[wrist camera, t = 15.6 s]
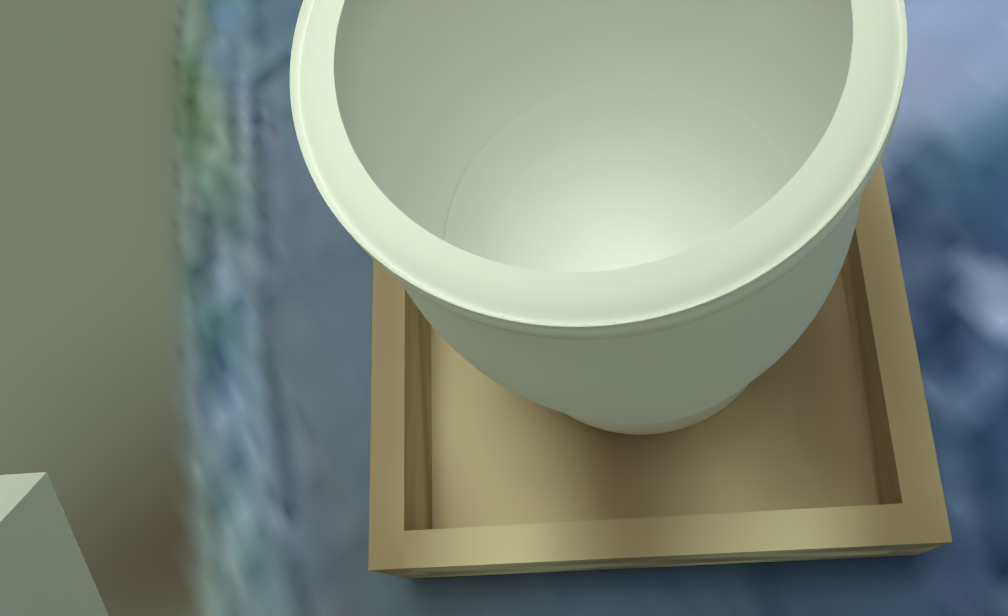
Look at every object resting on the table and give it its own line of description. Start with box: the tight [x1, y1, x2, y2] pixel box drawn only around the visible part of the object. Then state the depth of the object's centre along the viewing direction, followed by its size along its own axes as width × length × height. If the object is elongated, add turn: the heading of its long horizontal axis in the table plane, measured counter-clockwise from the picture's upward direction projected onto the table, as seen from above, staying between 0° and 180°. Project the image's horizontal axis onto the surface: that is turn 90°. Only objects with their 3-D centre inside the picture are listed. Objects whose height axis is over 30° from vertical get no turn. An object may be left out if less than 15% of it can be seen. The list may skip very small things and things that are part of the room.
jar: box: [290, 0, 907, 435], centre depth 23 cm, size 11×10×15 cm
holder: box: [369, 160, 952, 578], centre depth 29 cm, size 15×16×4 cm
